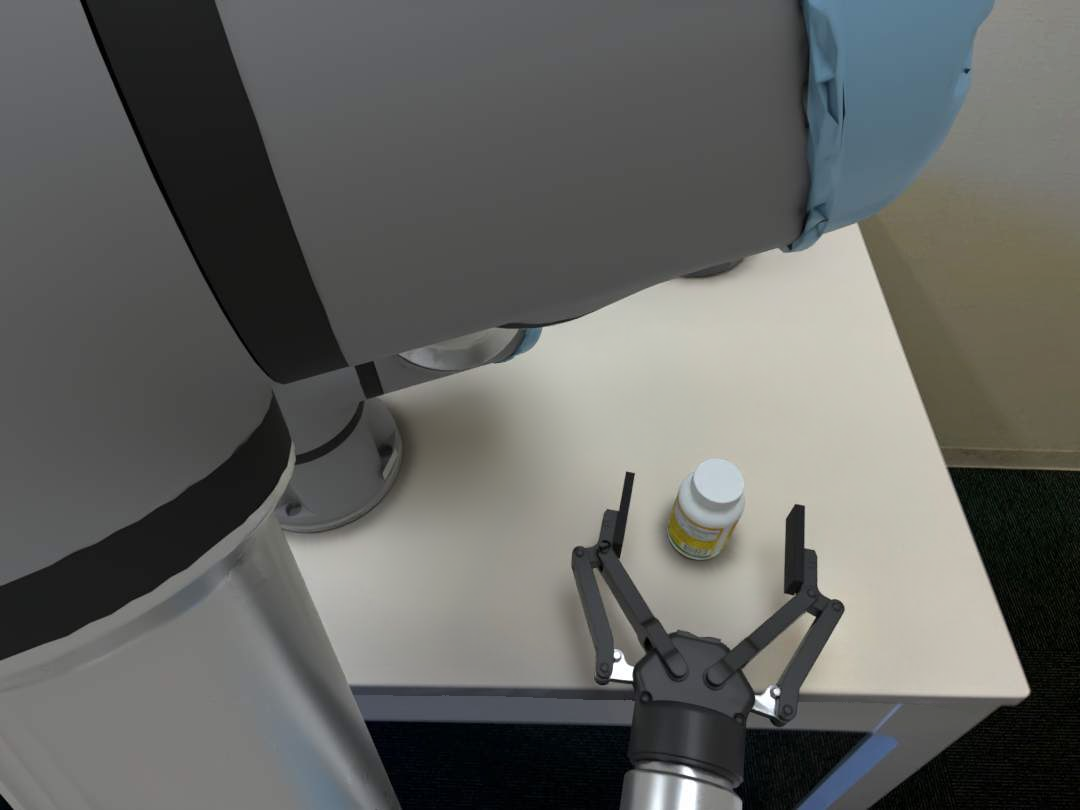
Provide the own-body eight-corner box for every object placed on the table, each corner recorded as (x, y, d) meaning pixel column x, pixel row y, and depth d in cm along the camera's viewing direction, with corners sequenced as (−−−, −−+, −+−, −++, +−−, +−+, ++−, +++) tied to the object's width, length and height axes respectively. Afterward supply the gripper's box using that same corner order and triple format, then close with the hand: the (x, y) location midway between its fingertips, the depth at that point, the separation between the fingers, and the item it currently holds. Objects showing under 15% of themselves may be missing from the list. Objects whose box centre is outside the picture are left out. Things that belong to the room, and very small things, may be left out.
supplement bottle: (685, 571, 60) (706, 521, 52) (655, 519, 63) (671, 464, 55) (739, 547, 61) (767, 495, 53) (706, 497, 64) (729, 441, 56)
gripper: (501, 742, 50) (561, 488, 62) (859, 832, 47) (850, 545, 59) (495, 720, 44) (563, 443, 56) (906, 822, 41) (886, 504, 53)
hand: (710, 495), depth 58 cm, fingers open, 13 cm apart
